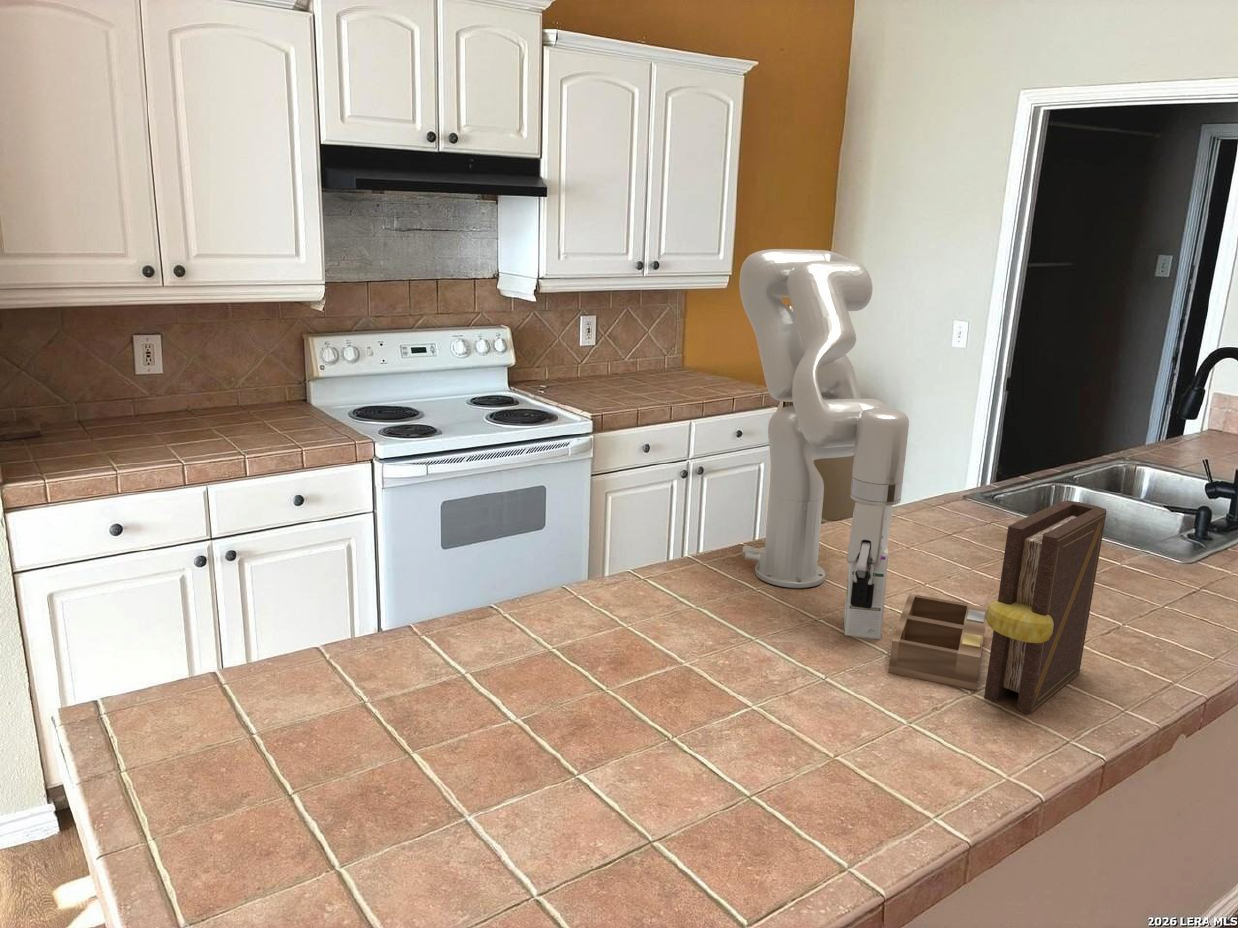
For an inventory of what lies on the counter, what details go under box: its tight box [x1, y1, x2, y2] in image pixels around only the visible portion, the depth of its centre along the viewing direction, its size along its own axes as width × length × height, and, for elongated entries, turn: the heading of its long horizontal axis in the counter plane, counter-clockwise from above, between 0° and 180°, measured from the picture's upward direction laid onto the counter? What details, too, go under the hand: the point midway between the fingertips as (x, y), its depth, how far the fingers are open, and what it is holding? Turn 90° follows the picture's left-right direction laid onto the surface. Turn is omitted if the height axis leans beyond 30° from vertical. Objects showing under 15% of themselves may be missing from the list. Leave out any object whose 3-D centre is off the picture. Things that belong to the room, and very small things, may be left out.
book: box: [983, 500, 1108, 716], centre depth 131 cm, size 22×8×25 cm, turn 134°
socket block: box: [888, 593, 989, 691], centre depth 143 cm, size 20×12×5 cm, turn 157°
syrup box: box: [843, 545, 889, 640], centre depth 150 cm, size 6×6×14 cm
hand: (865, 597), depth 150 cm, fingers closed on syrup box, 6 cm apart
